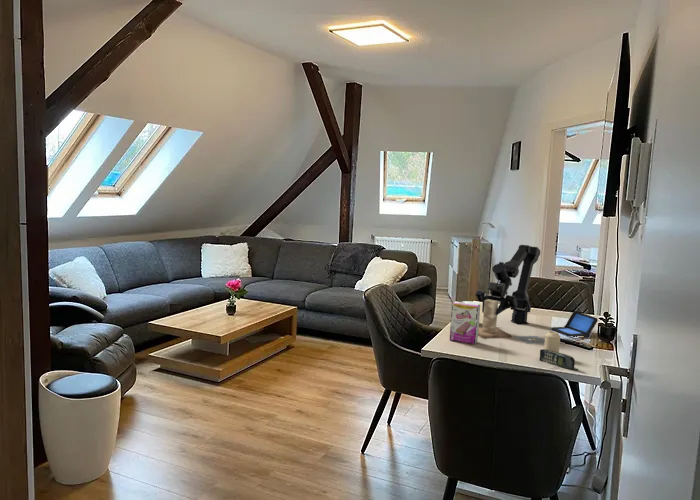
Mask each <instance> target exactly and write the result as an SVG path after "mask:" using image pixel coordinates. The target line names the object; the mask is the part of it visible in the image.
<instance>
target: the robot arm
mask: <svg viewBox="0 0 700 500" xmlns="http://www.w3.org/2000/svg"><path fill="white" fill-rule="evenodd" d="M540 256H541V249H540V248H539V247H538V246H531V245H528V244H519V246H518V249H517V250H516V251H515V253H514V254H513V256H512V257H511V259H510V260H508V261H505V262H502V261H499V263H496V264H494V265H493V266H492V273H493V276H494V278H495V279H496V282H490V281H489V282H488V285H487V290H489V294H487V292H486V291H485V290H477V291H476V292H475V296H476V299H477V302H479V303H482V305H481V306H482V307H481V310H482V311H481V312H482V314H484V301H485V300H495V301H498V303H499V304H498V309H497V311H496V313H495V315H497V316H498V315H499V314H501V313H503V312H504V311H506V310H507V309H510V310H512V313H511V320H510V322H512V323H514V324H517V325H529V322H528V313H531V310H532V306H531V304H530V297H529V294H528V291H529V290H528V289H529V285H530V280H531V277H532V276H531V275H532V271H533V267H534V264H536V262H538V260H539V257H540ZM521 264H522V267H521V272H519V271H520V269H519V267H520V266H521ZM519 273H520V275H519ZM518 275H519V280H518V286H517V288H516V290H515V291H512V292H511V295H508V290H509V289H510V288H509V287H512V285H513V281H512V278H514V279H515V278H517V276H518Z"/></svg>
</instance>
